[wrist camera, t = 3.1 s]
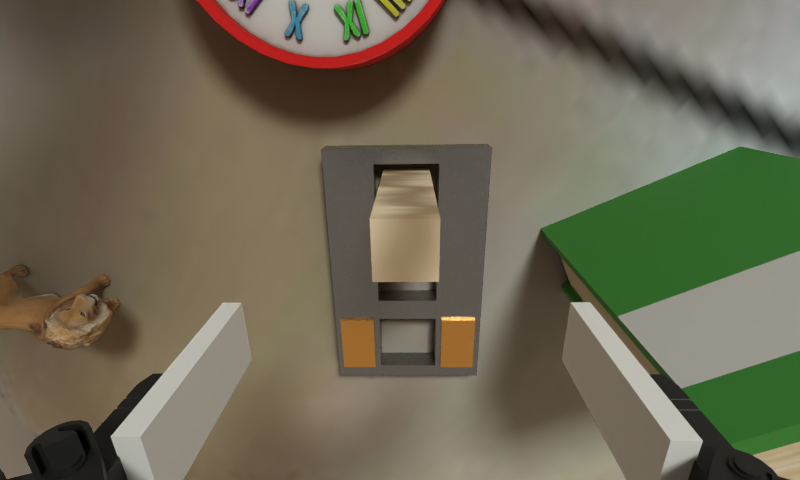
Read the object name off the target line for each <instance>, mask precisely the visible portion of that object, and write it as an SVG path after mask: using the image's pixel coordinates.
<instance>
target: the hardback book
mask: <svg viewBox="0 0 800 480" xmlns="http://www.w3.org/2000/svg"><path fill="white" fill-rule="evenodd" d="M541 231H542V233H543V236H544V238H545V239H546V240H547V241H548V243H549V244H550V245H551V246H552V247H553V248H554V250H555V251H556V252H557V253H558V254H559V256H560V257H561V259H562V262H563V265H564V268H565V270H566V273H567V276H568V279H569V281H570V282H568V283H566V284H563V285H562V287H563V290H564V292H565V294H566V295H567V297H568V298H569V299H570V301H571V302H590V303H591V304H592V305H593V306H594V308H595V309H596V310H597V311H598V312H599V314H600V315H601V316H602V317H603V319H604V320H605V321H606V322H607V324H608V325H609V326H610V327H611V328H612V330H613V331H614V332H615V333H616V335H617V336H618V337H619V338H620V339H621V341H622V342H623V343H624V344H625V346H626V347H627V348H628V349H629V351H630V352H631V353H632V354H633V355H634V357H635V358H636V359H637V360H638V362H639V363H640V364H641V365H642V367H643V368H644V369H645V370H646V371H647V373H648V374H663V375H664V376H666V377H667V378H668V379H670V380H671V381H673V382H674V383H676V384H677V385H679V387H680V388H681V389H682V390H683V391H684V392H685V393H686V394H687V396H688V397H689V398H690V401H693V402H694V404H695V405H696V406H697V407H698V408H699V411H702V413H703V414H704V415H705V416H706V417H707V418H708V419H709V421H710V422H711V423H712V424H713V425H714V426H715V427H716V428H717V430H718V431H719V432H720V433H721V434H722V435H723V436H724V438H725V439H726V440H727V441H728V442H729V443H730V444H731V446H732V447H733V448H734V449H737V450H740V451H743V452H746V453H749V454H751V455H753V456H754V457H756V458H758V459H760V460H762V461H763V462H764V463H765V464H767V465H768V466H769V467H771V468H772V469H773V470H774V472H775V473H776V474H777V475H778V476H779V477H782V478H786V479H790V480H800V159H798V158H793V157H788V156H783V155H778V154H773V153H769V152H764V151H759V150H754V149H749V148H744V147H738V148H736V149H733V150H731V151H728V152H726V153H723V154H721V155H719V156H716V157H714V158H711V159H709V160H706V161H704V162H702V163H699V164H697V165H694V166H692V167H689V168H687V169H685V170H682V171H680V172H677V173H675V174H672V175H670V176H668V177H665V178H663V179H660V180H658V181H655V182H653V183H651V184H648V185H646V186H643V187H641V188H638V189H636V190H634V191H631V192H629V193H626V194H624V195H621V196H619V197H617V198H614V199H612V200H609V201H607V202H604V203H602V204H600V205H597V206H595V207H592V208H590V209H588V210H585V211H583V212H580V213H578V214H575V215H573V216H571V217H568V218H566V219H563V220H561V221H558V222H556V223H554V224H551V225H549V226H546V227H544V228H541Z"/></svg>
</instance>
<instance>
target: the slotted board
mask: <svg viewBox="0 0 800 480" xmlns="http://www.w3.org/2000/svg"><path fill="white" fill-rule="evenodd" d="M321 154H322V166H323V178H324V189H325V201H326V213H327V225H328V237H329V248H330V260H331V272H332V284H333V295H334V307H335V319H336V331H337V342H338V354H339V366H340V375H477V361H478V346H479V331H480V316H481V302H482V287H483V272H484V258H485V243H486V228H487V213H488V199H489V184H490V169H491V154H492V147H490V146H489V145H488V144H457V145H370V146H325V147H324V148H323V149H321ZM375 164H438V175H437V205H438V210H439V214H440V259H439V282H435V291H380V282H372V262H371V239H370V216H371V212H372V209H373V205H374V202H375V198H376V172H375ZM381 319H435V328H434V353H382V334H381Z"/></svg>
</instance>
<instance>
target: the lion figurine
mask: <svg viewBox="0 0 800 480" xmlns="http://www.w3.org/2000/svg"><path fill="white" fill-rule="evenodd" d="M27 273H28V271H27V269H26V268H25V267H24V266H22V265H18V266H15V267H13V268H11V269H9V270H8V271H6V272H4V273H2V274H1V275H0V329H18V330H27V331H32V332H35V335H36V337H37V338H39V339H41V340H42V341H46V343H47V344H51V345H52V347H54V348H55V347H56V348H62V349H66V350H71V349H77V348H80V347H85V346H89V345H90V344H91V343H92V342H94V341H96V340H98V338H99V337H100V336H101V335H102V334H103V333H104V331H105V329H106V328H107V326H108V325H109V324H110V322H111V319H112V315H113V313H112V311H111V310H110V309H116V308H117V307H119V305H120V303H119V300H118V299H116V298H109V299H107V300H105V301H103V300H102V299H100V298H98V296H97V295H95V294H92V293H93V292H95V291H98V290H100V289H101V288H102V287H104V286H107V285H109V284H110V279H109V278H108V277H107V276H105V275H104V274H101V275H99V276H98V277H97V278H95V279H94V280H92V281H91V282H90V283H89V284H88V285H86V286H84V287H82V288H79V289H77V290H75V291H74V292H72V293H70V294H69V295H67V296H66V297H64V298H60V297H58V296H57V295H55V294H51V293H49V294H44V295H38V296H31V297H27V298H21V297H19V296H18V287H17V283H16V281H15V280H14V279H13V277H15V276H17V277H23V276H25V275H27ZM109 308H110V309H109Z"/></svg>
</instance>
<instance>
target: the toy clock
mask: <svg viewBox="0 0 800 480" xmlns="http://www.w3.org/2000/svg"><path fill="white" fill-rule="evenodd" d="M197 2H198V3H199V4H200V5H201V6H202V7H203V8H204V9H205V10H206V12H207V13H208V14H209V15H210V16H211V17H212V18H213V19H214V20H215V22H217V23H218V24H219V25H220V26H221V27H223V28H224V29H225V30H226V31H228V32H229V33H230V34H231V35H232V36H234V37H235V38H236V39H237V40H239V41H240V42H242V43H244V44H245V45H247V46H249V47H251V48H252V49H254V50H256V51H257V52H259V53H261V54H263V55H266V56H268V57H271V58H274V59H276V60H279V61H282V62H284V63H287V64H292V65H298V66H304V67H310V68H316V69H324V70H350V69H355V68H360V67H365V66H369V65H372V64H375V63H377V62H379V61H382V60H384V59H387V58H389V57H391V56H392V55H394V54H396V53H397V52H399V51H400V50H402V49H403V48H405V47H406V46H408V45H409V44H410V43H411V42H412V41H413V40H414V39H415V38H417V37H418V36H419V35H420V34H421V33H422V32H423V31H424V30H425V29H426V28H427V26H428V25H429V24H430V22H431V21H432V20H433V18H434V17H435V16H436V14H437V13H438V12H439V10H440V9H441V7H442V5H443V3H444V2H445V0H197Z"/></svg>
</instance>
